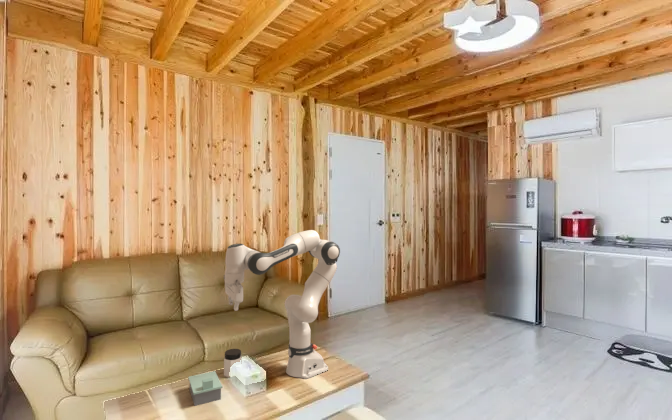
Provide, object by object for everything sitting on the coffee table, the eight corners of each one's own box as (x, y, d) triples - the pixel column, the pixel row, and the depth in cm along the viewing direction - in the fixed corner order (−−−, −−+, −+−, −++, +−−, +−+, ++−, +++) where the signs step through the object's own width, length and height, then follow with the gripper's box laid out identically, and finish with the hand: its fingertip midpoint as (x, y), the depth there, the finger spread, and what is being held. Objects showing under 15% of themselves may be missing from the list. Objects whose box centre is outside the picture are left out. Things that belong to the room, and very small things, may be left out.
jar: (226, 380, 175) (226, 356, 175) (221, 373, 182) (221, 350, 182) (243, 376, 180) (244, 352, 180) (238, 369, 187) (239, 347, 187)
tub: (213, 385, 170) (214, 373, 170) (220, 401, 157) (220, 387, 157) (189, 391, 165) (189, 378, 165) (194, 407, 152) (194, 394, 152)
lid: (214, 372, 171) (215, 363, 171) (222, 387, 157) (222, 378, 157) (188, 378, 165) (188, 369, 165) (193, 394, 151) (193, 384, 151)
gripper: (247, 282, 160) (246, 312, 160) (235, 273, 177) (234, 301, 177) (233, 283, 156) (232, 314, 156) (222, 274, 174) (221, 302, 174)
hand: (233, 307), depth 167 cm, fingers open, 8 cm apart
